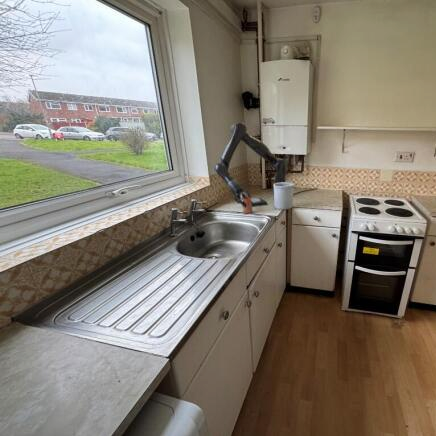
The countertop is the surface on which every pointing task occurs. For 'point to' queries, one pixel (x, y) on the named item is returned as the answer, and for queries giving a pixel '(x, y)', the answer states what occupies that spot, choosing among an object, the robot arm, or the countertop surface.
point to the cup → (249, 204)
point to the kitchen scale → (258, 202)
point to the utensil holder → (283, 195)
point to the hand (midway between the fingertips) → (249, 205)
